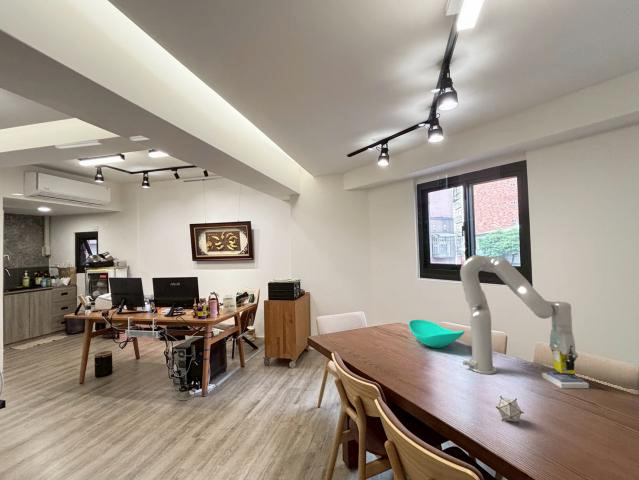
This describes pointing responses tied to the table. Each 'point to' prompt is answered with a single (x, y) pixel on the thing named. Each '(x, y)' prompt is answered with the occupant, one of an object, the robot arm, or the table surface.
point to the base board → (565, 380)
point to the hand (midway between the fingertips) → (563, 366)
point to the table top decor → (433, 333)
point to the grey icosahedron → (509, 409)
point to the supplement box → (561, 363)
